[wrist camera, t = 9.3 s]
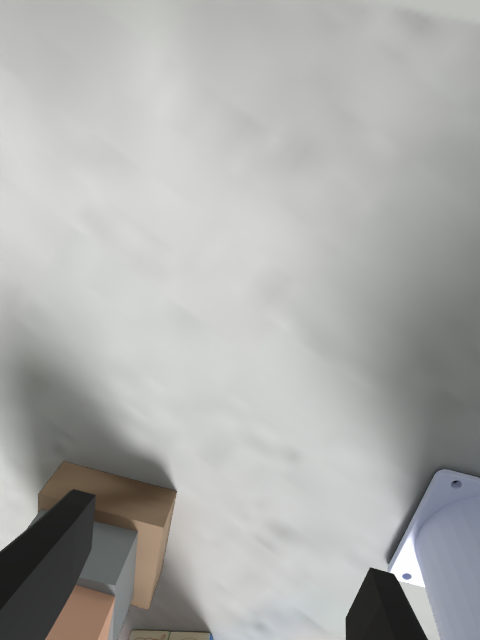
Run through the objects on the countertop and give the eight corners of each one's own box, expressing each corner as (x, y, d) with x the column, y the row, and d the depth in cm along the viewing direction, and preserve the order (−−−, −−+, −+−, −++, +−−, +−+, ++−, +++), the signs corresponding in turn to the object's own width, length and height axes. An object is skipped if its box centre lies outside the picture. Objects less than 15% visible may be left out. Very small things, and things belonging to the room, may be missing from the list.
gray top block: (137, 531, 22) (115, 585, 19) (133, 597, 24) (111, 654, 21) (41, 509, 22) (4, 559, 19) (44, 576, 24) (12, 629, 22)
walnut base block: (178, 485, 24) (163, 527, 21) (163, 563, 27) (148, 609, 24) (67, 456, 25) (38, 493, 22) (63, 536, 27) (37, 578, 24)
